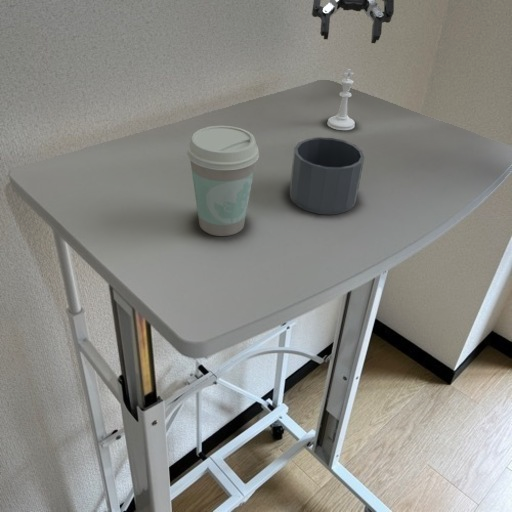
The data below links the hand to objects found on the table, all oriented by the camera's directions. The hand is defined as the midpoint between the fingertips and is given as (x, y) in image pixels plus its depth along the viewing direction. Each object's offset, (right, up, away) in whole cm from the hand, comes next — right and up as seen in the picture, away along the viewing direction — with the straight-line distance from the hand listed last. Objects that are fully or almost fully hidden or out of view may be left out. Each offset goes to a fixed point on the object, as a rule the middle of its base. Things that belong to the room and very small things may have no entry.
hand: (350, 39), depth 97 cm
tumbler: (-7, -30, -19) cm, 36 cm away
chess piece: (-1, -15, +2) cm, 15 cm away
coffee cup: (-21, -34, -26) cm, 48 cm away
